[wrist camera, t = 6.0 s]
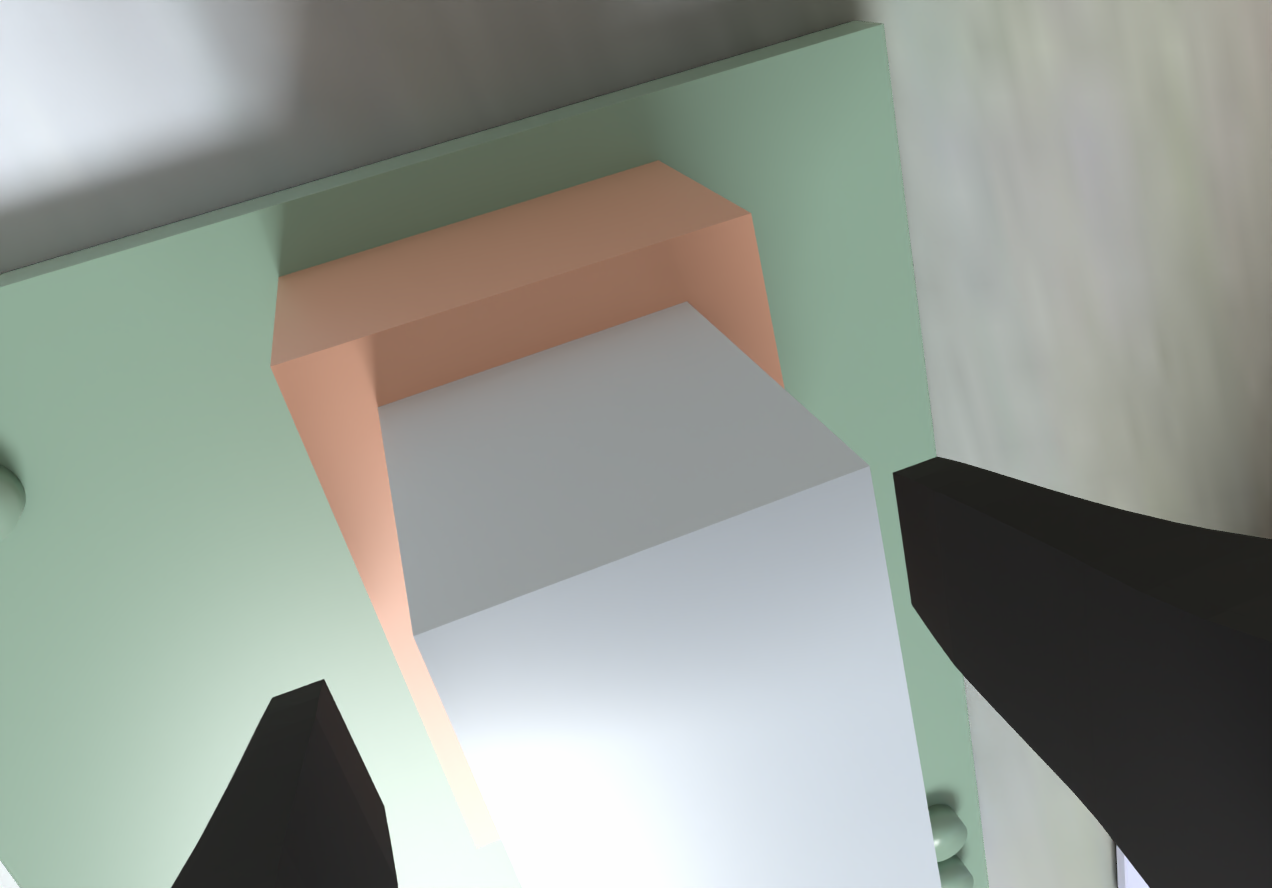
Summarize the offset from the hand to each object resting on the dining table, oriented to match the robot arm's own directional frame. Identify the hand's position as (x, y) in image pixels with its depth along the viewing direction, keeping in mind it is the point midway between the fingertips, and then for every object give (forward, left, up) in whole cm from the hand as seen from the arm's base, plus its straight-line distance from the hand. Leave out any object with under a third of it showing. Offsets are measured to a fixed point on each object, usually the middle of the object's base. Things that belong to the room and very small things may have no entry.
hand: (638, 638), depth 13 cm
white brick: (0, 0, -2) cm, 2 cm away
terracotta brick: (0, 0, -7) cm, 7 cm away
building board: (+2, +5, -7) cm, 9 cm away
